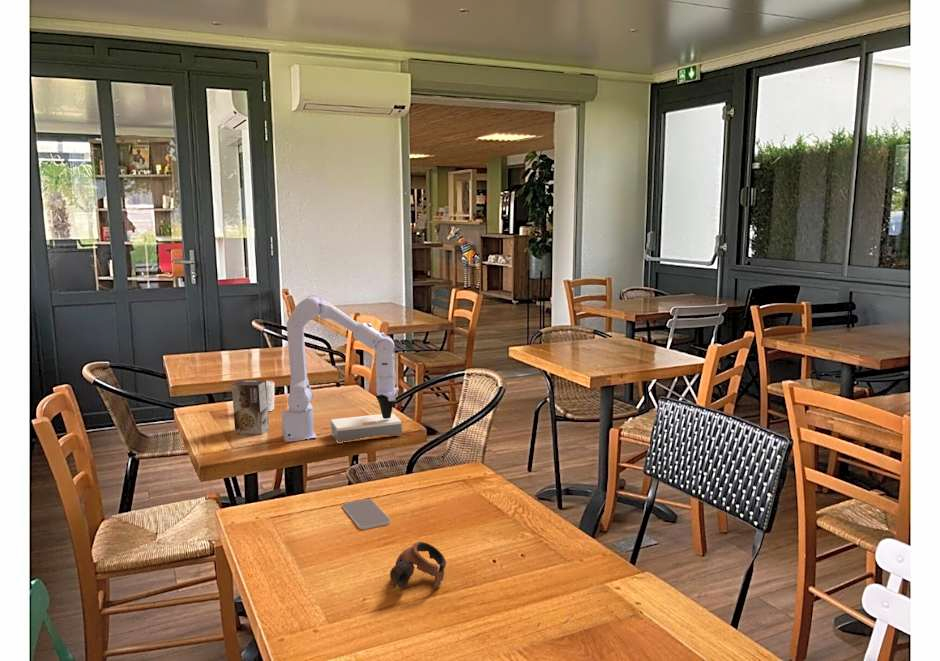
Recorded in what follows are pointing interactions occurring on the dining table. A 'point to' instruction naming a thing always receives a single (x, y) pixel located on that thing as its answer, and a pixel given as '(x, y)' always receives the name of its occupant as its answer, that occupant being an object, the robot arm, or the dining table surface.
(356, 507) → the smartphone
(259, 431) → the coffee box
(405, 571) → the brown looped part
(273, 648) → the dining table surface
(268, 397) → the white cup
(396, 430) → the cable duct
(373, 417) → the duct lid
